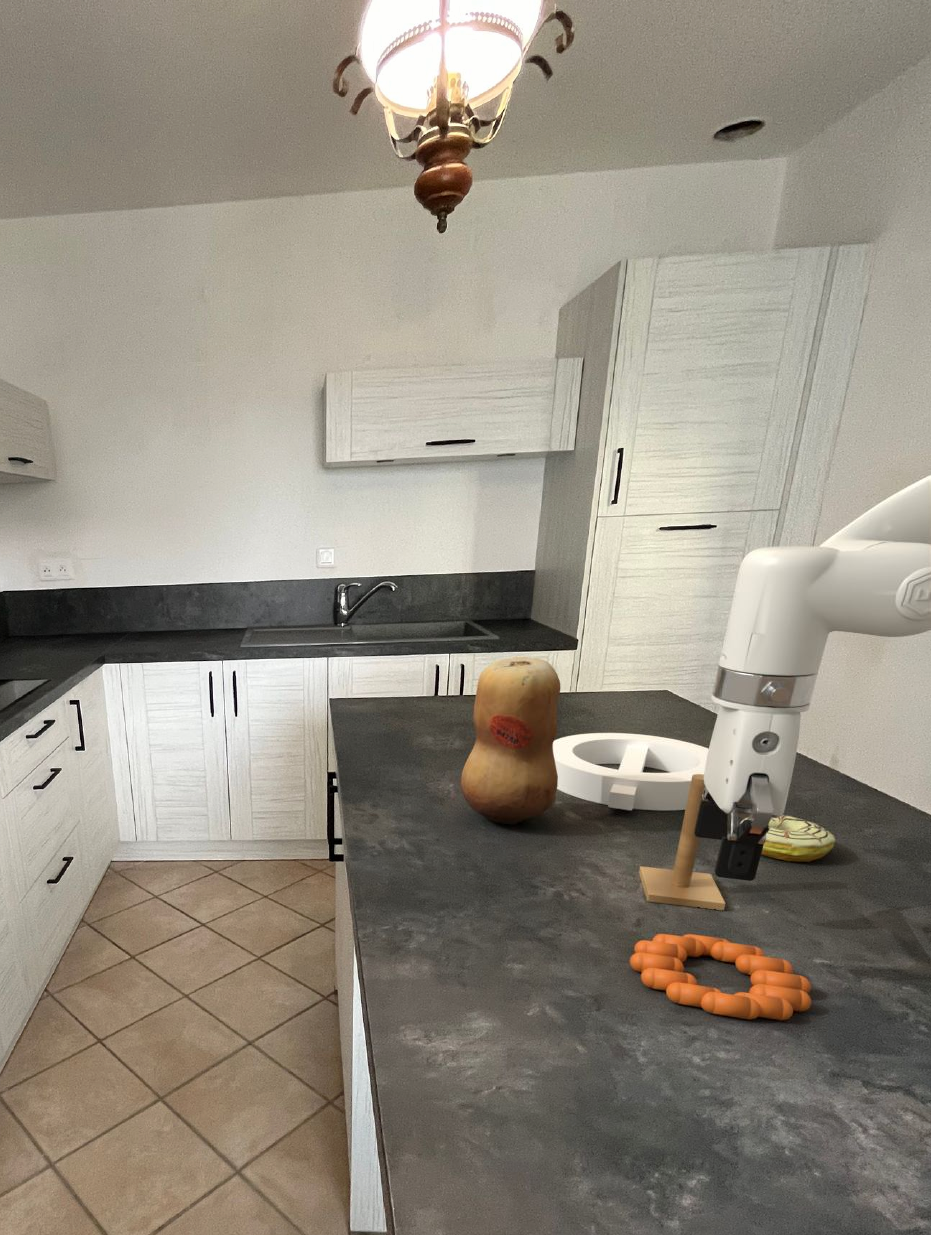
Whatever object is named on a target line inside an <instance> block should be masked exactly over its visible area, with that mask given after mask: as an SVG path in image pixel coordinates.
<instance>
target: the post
mask: <svg viewBox="0 0 931 1235" xmlns="http://www.w3.org/2000/svg"><path fill="white" fill-rule="evenodd" d="M705 787H706V786H705V784H704V775H703V774H695V775H692V779H691V784H690V789H689V794H688V799H687V805H686V810H684V815H683V820H682V826H681V830H680V835H679V840H678V846H677V851H676V855H675V861H674V866H673V869H669V868H658V867H650V866H641V865H640V866H639V870H638V875H639V878H640V880H641V884H642V887H643V891H644V894H645V898H646V901H647V902H649V903H657V904H665V905H666V904H667V905H673V906H681V907H689V908H697V907H700V908H699V909H706V908H707V910H714V909H716V910H715V911H722V910H723V912H724V911H725V908H726V901H725V899H724V898H723V895H722V894H721V891H720V890H719V888H718V886H717V884H716V882H715V880H714V877H713V876H712V874H711V873H706V872H705V873H704V872H698V871H697V872H696V871H694V869H695V864H696V858H697V855H698V854H697V853H698V849H699V844H700V839H701V837H696V836H695V834H694V830H695V825H696V821H697V816H698V812H699V807H700V803H701V800H702V801H708V800H703V790H704V788H705Z"/></svg>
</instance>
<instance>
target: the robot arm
mask: <svg viewBox="0 0 931 1235" xmlns="http://www.w3.org/2000/svg"><path fill="white" fill-rule="evenodd" d="M727 619H728V620H727V625H726V630H725V634H724V638H723V644H722V647H721V652H720V658H719V662H718V665H717V670H716V675H715V678H714V679H715V680H714V685H713V688H712V693H711V698H710V700H711V702H712V703H714V704H716V705H719V710H718V712H717V716H716V720H715V723H714V728H713V731H712V734H711V739H710V742H709V747H708V749H709V751H708V755H707V760H706V765H705V771H704V784H705V786H706V787H705V788H704V790H703V800H708V801H702V800H701V803H700V807H699V812H698V816H697V821H696V825H695V830H694V834H695V836H696V837H700V839H701V838H702V839H711V840H720V846H719V849H718V853H717V857H716V858H717V859H716V862H715V867H714V874H715V876H716V877H718V878H722V879H731V880H739V881H746V882H747V881H749V882H751V881H754V880H755V879H756V875H757V872H758V868H759V864H760V861H761V857H762V855H761V853H762V849H763V845H764V843H765V841H766V833H767V832H768V831H769V828H768V827H769V825H768V824H769V822H770V820H771V818H778V817H780V816H782V815H784V814H785V810H786V805H787V801H788V797H789V792H790V787H791V783H792V777H793V772H794V768H795V763H796V758H797V753H798V752H797V751H798V746H799V740H800V731H801V716H802V715H801V713H804V712H807V711H808V710H809V709H810V706H811V702H812V701H811V700H812V697H813V693H814V690H815V686H816V682H817V678H818V674H819V670H820V667H821V663H822V660H823V655H824V652H825V648H826V646H827V641H828V639H829V634H831V633H833V632H843V633H854V634H859V635H860V634H861V635H870V636H876V637H883V638H901V637H902V638H903V637H909V636H910V637H911V636H915V635H919V634H923V633H926V632H930V631H931V474H930V475H928V476H925V477H924V478H922V479H920V480H917V481H916V482H914V483H912V484H910V485H908V486H907V487H905V488H903V489H901V490H899V491H898V492H896V493H894V494H892V495H891V496H889V497H888V498H885V499H884V500H883V501H881V502H879V503H878V504H876V505H874V506H873V507H871V508H870V509H868V510H867V511H866V512H864V513H862V514H861V515H860V516H858V517H857V518H856V519H854V520H853V521H851V522H850V523H849V524H847V525H845V526H844V527H843V528H842V529H840V530H838V531H837V532H836V533H835V534H833V535H831V536H830V537H828V538H827V540H825V541H824V542H822V543H821V544H820V545H817V546H816V545H814V546H811V545H810V546H809V545H786V546H785V545H783V546H765V547H759V548H756V549H753V550H751V551H749V553H747V554H746V555H745V556H744V558H743V559H742V561H741V563H740V565H739V569H738V573H737V578H736V581H735V587H734V592H733V595H732V600H731V606H730V610H729V615H728V618H727ZM739 818H745V819H746V818H749V820H744V819H743V820H744V821H743V820H742V821H743V822H742V823H741V822H740V823H741V824H740V823H739Z"/></svg>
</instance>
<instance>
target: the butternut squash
mask: <svg viewBox="0 0 931 1235" xmlns="http://www.w3.org/2000/svg"><path fill="white" fill-rule="evenodd" d="M560 693H561V681H560V678H559V676H558V673H557V671H556V669H555V668H554V667H553V666H552V664H551V663H549V662H548V661H547V660H544V659H541V658H537V657H536V658H534V657H528V656H516V657H509V658H504V659H500V660H496V661H495V662H493V663H491V664H490V665H488V666H487V667H485V668H484V670H482V672H481V673H480V675H479V678H478V681H477V686H476V692H475V699H474V706H473V726H474V731H475V741H474V745H473V748H472V750H471V751H470V753H469V754H468V757H467V759H466V762H465V764H464V766H463V769H462V772H461V777H460V789H461V793H462V796H463V798H464V800H465V801H466V803H467V804H468V806H469V807H470V808H471V809H472V810H473V811H474V812H475V813H478V814H479V815H481V816H483V817H485V818H487V819H488V820H489V821H490V822H494V823H497V824H503V825H515V824H517V823H520V822H522V821H525V820H528V819H531V818H534V817H535V818H536V817H539V816H542V815H543V814H544V813H545V812H546V811H548V810H549V809H550V808H552V806H553V805H555V804H556V793H557V790H558V789H557V786H558V775H557V769H556V764H555V759H554V754H553V742H554V741H555V740H556V738H557V736H558V724H557V715H558V714H557V708H558V701H559V696H560Z"/></svg>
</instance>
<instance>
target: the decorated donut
mask: <svg viewBox="0 0 931 1235" xmlns="http://www.w3.org/2000/svg"><path fill="white" fill-rule="evenodd" d="M744 820H749V818H746V817H745V818H744V819H743V820H741V821H740V823H739V825H740V824H741V823H742V822H743V821H744ZM768 825H769V827H768V828H769V831H768V832H767V833H766V841H765V843H764V845H763V849H762V853H761V856H764V857H767V858H770V859H776V860H782V861H785V862H795V863H803V862H804V863H810V862H812V861H816V860H819V859H821V858H823V857H825V856H826V855H827V854H829V852H830V851H831V850H832V849H834V846H835V842H836V837H835V835H834V834H833V833H831V832H830V831H829V830H827V829H825V828H824V827H822V826H820V825H819V824H817V823H814V822H812V821H811V820H808V819H807V820H806V819H803V818H798V817H794V816H790V815H785V814H783V815H782V816H780V817H778V818H771V820H770V822H769V824H768Z"/></svg>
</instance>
